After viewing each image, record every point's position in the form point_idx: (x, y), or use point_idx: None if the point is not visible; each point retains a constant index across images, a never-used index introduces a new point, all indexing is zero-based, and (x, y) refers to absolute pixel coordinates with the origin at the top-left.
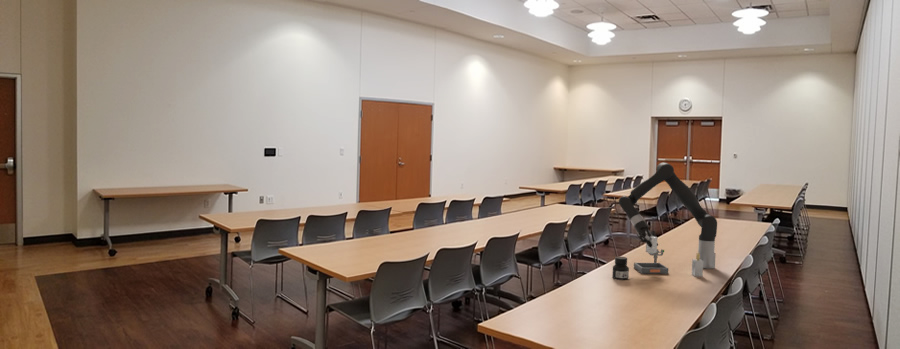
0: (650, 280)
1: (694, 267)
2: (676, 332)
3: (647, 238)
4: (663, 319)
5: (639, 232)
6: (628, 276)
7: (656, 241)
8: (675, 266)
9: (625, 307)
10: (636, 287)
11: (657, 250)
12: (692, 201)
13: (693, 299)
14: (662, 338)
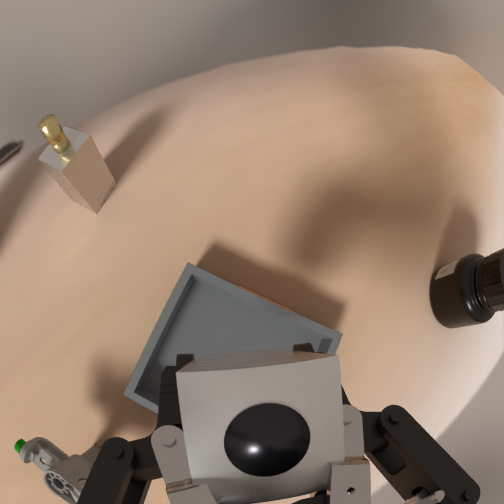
0: (368, 218)
1: (96, 168)
2: (445, 54)
3: (348, 438)
4: (449, 71)
5: (473, 500)
6: (440, 270)
7: (206, 363)
8: (32, 369)
9: (485, 122)
10: (446, 183)
11: (56, 470)
12: None
13: (357, 62)
14: (461, 61)
